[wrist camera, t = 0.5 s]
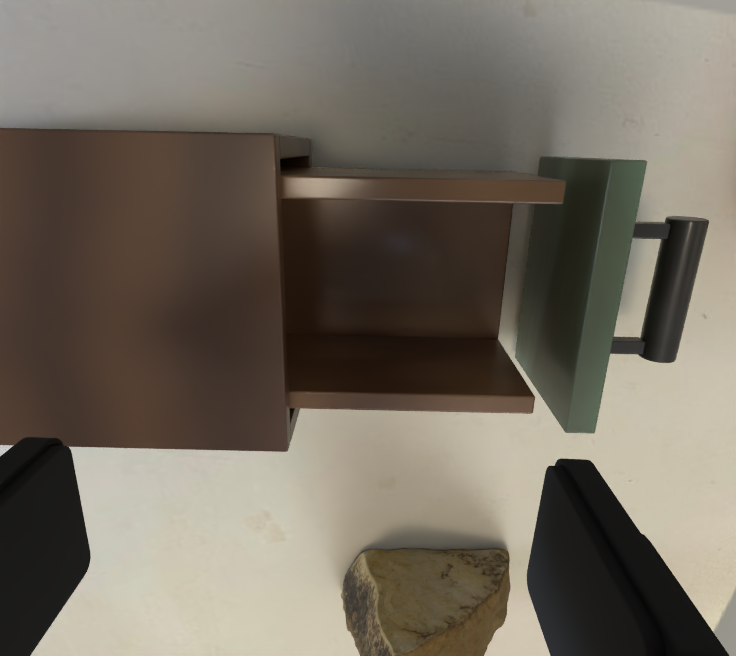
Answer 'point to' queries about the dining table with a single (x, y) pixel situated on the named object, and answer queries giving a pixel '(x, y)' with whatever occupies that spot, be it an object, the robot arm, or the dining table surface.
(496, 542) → the dining table surface
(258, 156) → the cabinet
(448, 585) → the rock
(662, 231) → the drawer
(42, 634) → the robot arm
